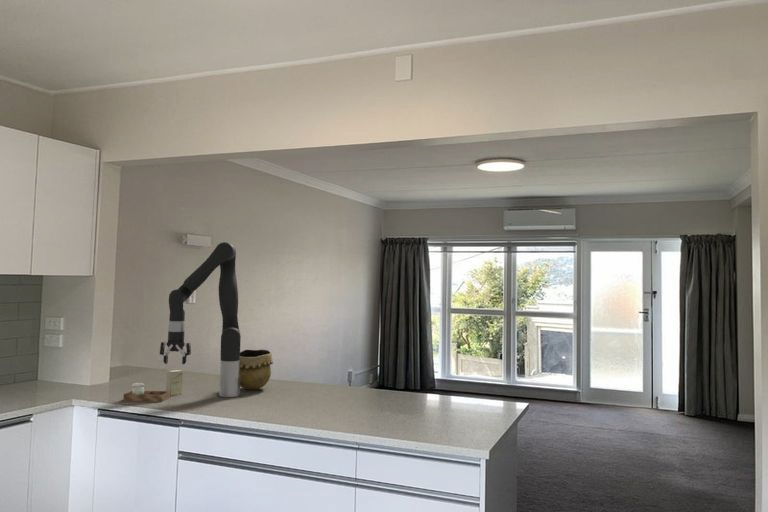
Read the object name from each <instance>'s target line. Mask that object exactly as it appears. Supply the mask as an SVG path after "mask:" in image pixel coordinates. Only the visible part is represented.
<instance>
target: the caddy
mask: <svg viewBox="0 0 768 512" xmlns="http://www.w3.org/2000/svg"><path fill="white" fill-rule="evenodd" d="M170 398H171V396H170V391H166V390H144V394H132V390H131V391H128V392H126V393H124V394H123V399H122V400H123V402H149V403H150V402H151V403H152V402H153V403H155V402H156V403H157V402H158V403H160V402H162V403H163V402H165V401H166V400H168V399H170Z"/></svg>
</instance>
